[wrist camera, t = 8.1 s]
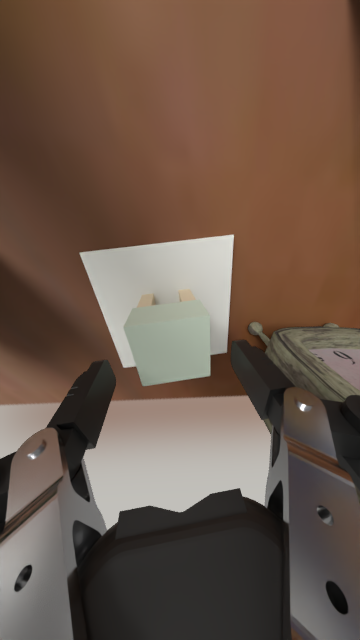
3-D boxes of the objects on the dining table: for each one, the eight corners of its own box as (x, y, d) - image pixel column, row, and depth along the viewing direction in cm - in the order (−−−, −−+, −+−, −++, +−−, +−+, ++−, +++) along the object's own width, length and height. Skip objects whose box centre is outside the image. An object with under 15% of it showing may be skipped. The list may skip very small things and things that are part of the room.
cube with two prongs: (139, 293, 15) (123, 327, 9) (191, 286, 15) (210, 315, 9) (149, 336, 18) (142, 386, 12) (194, 330, 18) (210, 375, 12)
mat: (81, 252, 13) (79, 252, 13) (231, 234, 14) (233, 234, 14) (124, 365, 20) (123, 367, 20) (225, 350, 20) (226, 352, 20)
